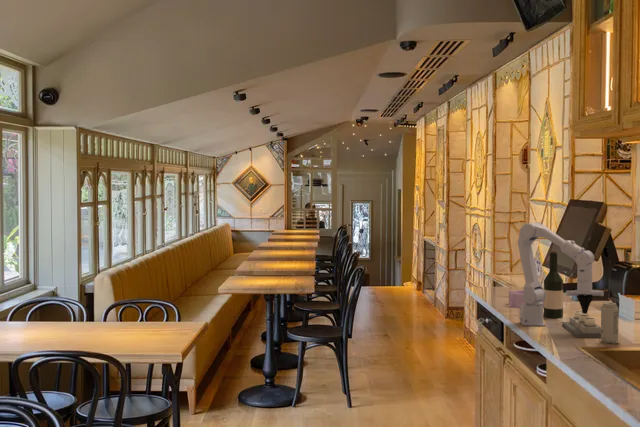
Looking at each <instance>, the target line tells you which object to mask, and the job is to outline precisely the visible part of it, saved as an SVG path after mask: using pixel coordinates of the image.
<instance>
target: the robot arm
mask: <svg viewBox="0 0 640 427" xmlns="http://www.w3.org/2000/svg"><path fill="white" fill-rule="evenodd" d="M538 238H543V239H547V240H548V241H550V242H551V243H553V244H554V245H556V246H558V247H559V248H560V251H561V252H562V253H563V254H565V255H567V256H568V257H569V258H571V259H572V260H574V261H575V264H576V265H577V268H576V270H577V271H576V273H577V274H576V276H577V279H576V280H577V281H576V282H577V284H576V285H577V287H576V288H577V289H575V290H565V296H567V297H571V296H572V297H573V296H574V297H577V299H578V302H579V304H580V308H581V311H582V313H583V314H586V315H588V311H589V307H590V305H591V303H592V301H593V299H594V297H593V296H595V297H596V296H600V297H604V295H605V294H604V293H605V291H604V290H597V289H596V290H595V289H593V263H594V261H595V259H596V258H595V254H594V253H593V252H592V251H591V250H589V249H588V250H587V249H586V248H584V247H581V246H580V245H578V244H576V241H574V240H569V239H568V240H565V239H564V238H563V237H561V236H559V235H558V233H555V232H554V231H552V230H551V229H550V228H549V227H547V226H546V225H544V224H542V223H541V222H530V223H529V222H527V223H524V224H523V225H521V227H520V228H519V236H518V240H517V245H518V251H519V256H520V261H521V267H522V271H523V272H522V273H523V277H524V285H523V288H522V289H523V290H524V293H523V299H524V301H525V302H526V304H521V305H520V308H519V317H520V318H519V323H521V325H522V326H536V327H537V326H538V327H539V326H540V327H541V326H542V327H543V326H546V325H547V324H546V323H545V322H544V308H543V300H544V299H545V298H546V292H545V290H544V286H543V285H542V283H541V282H540V281H539V278H538V271H537V268H536V262H535V257H534V252H533V249H532V248H533V247H532V244H534V242H535V241H536V240H537V239H538ZM585 249H586V250H585Z"/></svg>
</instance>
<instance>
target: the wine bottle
mask: <svg viewBox="0 0 640 427" xmlns="http://www.w3.org/2000/svg"><path fill="white" fill-rule="evenodd" d="M543 289H544V290H545V292H546V298H545V299H544V308H543V318H547V319H562V318H564V280H563V278H562V276H561V275H560V273H559V272H558V253H557V251H555V250H551V251H550V253H549V271H548V273H547V275H546V276H545V278H544V279H543Z"/></svg>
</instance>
